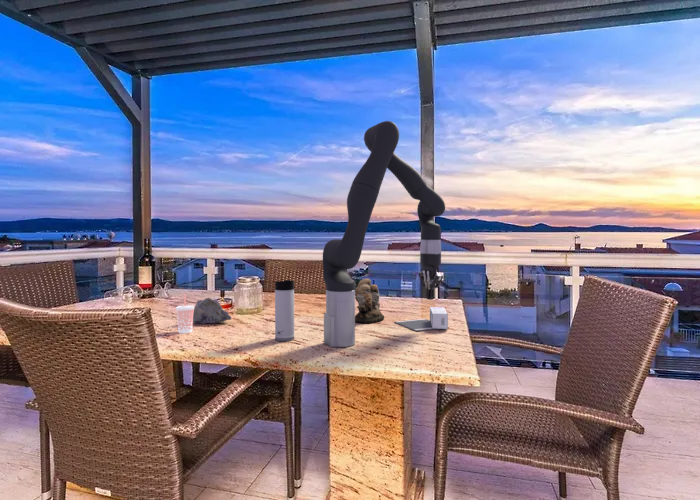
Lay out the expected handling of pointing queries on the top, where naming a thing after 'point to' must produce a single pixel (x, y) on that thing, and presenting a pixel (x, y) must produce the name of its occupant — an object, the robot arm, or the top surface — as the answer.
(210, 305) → the mineral rock
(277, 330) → the travel mug
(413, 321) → the mat
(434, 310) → the syrup box
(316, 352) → the top surface
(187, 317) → the beverage cup
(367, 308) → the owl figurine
